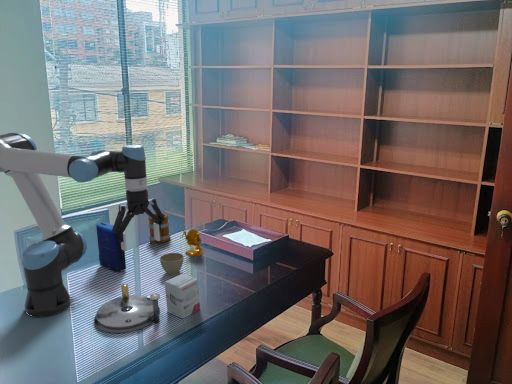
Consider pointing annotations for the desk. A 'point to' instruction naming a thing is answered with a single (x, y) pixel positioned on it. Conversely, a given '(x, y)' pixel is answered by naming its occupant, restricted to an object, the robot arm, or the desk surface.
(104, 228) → the book
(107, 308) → the turntable
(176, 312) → the ink box
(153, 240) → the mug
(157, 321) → the turntable base
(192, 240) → the figurine
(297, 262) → the desk surface
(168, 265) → the flower pot
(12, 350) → the desk surface
